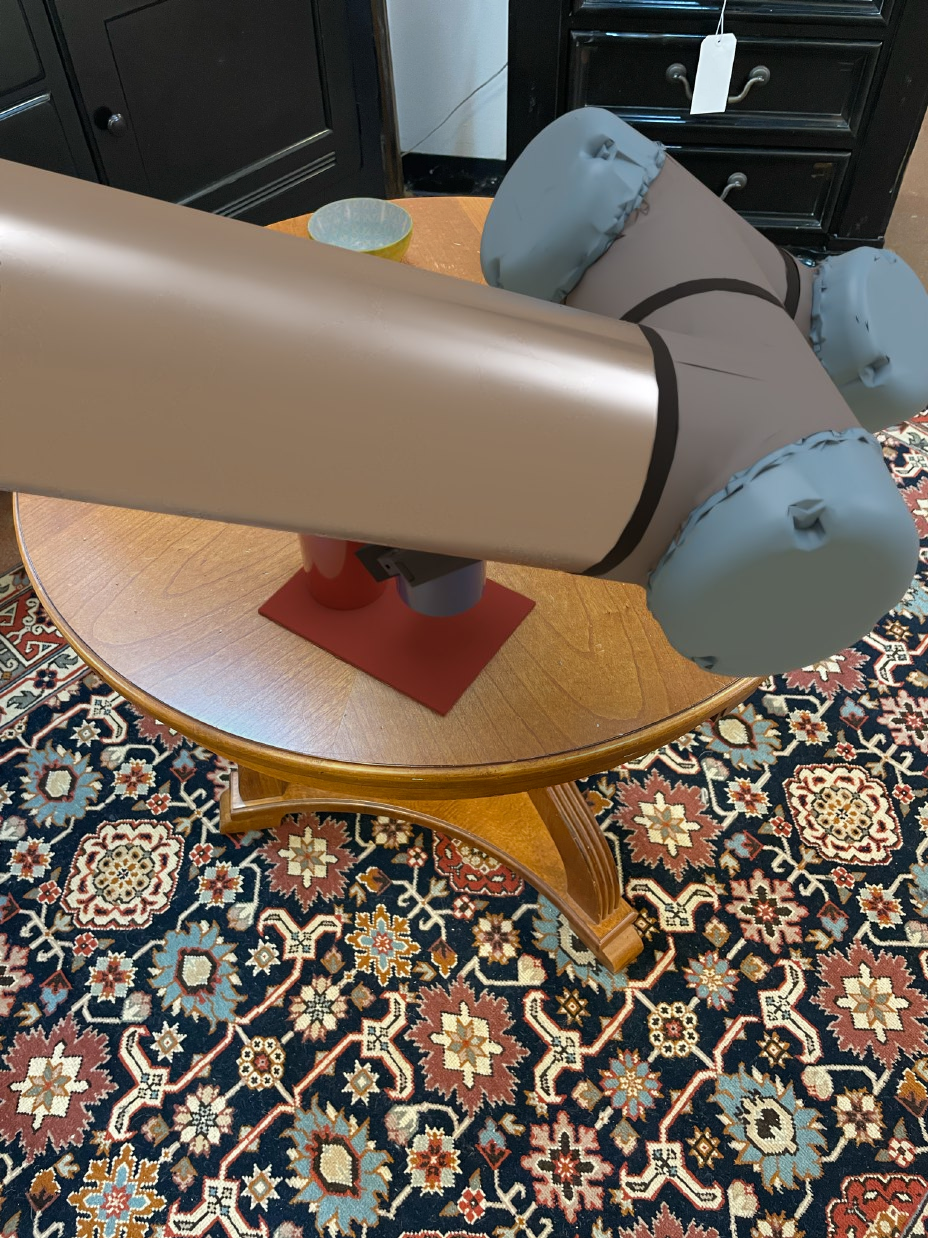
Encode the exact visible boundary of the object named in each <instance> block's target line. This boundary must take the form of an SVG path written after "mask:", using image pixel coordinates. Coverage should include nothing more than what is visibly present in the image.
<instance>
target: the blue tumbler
mask: <svg viewBox="0 0 928 1238" xmlns="http://www.w3.org/2000/svg"><path fill="white" fill-rule="evenodd" d="M487 562H488V561H486V560H483V561H480V562H478V563H475V564H473V565H470V566H468V567H465V568H462V569H460V570H457V571H455V572H452V573H450V574H447V575H445V576H442V577H439V578H437V579H434V580H432V581H429V582H427V583H424V584H421V585H419V586H416V587H414V588H411V587H410V586H409V584H408V583H407V582H406V581H405V579H404V578H403V577H402V576H401V575H399V576H396V589H397V592H398V594H399V596H400V598H401V599H402V601H403V602H404V603H405V604H406V605H407V606H408V607H410V608H411V609H413V610H414V611H416V612H419V613H421V614H424V615H428V616H435V617H446V616H453V615H457V614H460V613H462V612H465V611H467V610H468V609H470V608H472V607H473V606H474V605H475V604H476V603H477V602H478V601H479V600H480V599H481V597H482V595H483V594H484V591H485V587H486V577H487V564H488V563H487Z"/></svg>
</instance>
